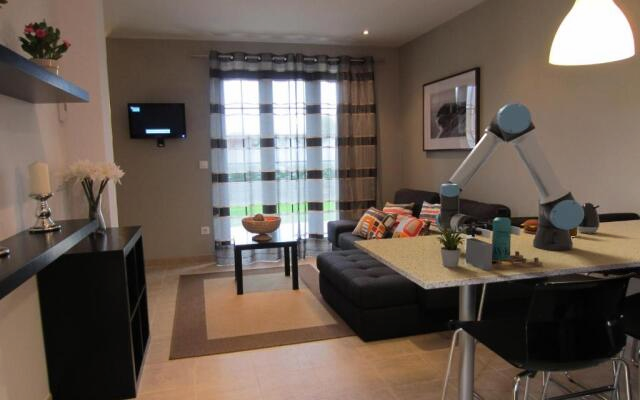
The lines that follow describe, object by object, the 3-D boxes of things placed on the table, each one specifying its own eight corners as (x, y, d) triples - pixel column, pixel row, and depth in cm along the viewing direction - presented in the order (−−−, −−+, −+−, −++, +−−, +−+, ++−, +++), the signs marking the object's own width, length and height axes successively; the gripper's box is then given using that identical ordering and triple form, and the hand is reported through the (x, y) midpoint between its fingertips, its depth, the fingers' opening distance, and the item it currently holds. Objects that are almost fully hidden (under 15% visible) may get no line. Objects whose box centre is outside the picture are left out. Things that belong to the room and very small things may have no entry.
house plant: (421, 267, 160) (421, 222, 158) (433, 259, 172) (433, 217, 170) (461, 272, 152) (462, 225, 151) (471, 263, 164) (472, 219, 162)
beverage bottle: (488, 261, 167) (488, 208, 166) (504, 261, 167) (505, 208, 167) (497, 264, 160) (497, 208, 160) (514, 263, 161) (515, 208, 161)
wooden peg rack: (520, 258, 171) (521, 250, 170) (542, 266, 159) (542, 258, 159) (473, 261, 167) (473, 253, 167) (491, 269, 155) (491, 261, 155)
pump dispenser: (591, 235, 216) (592, 204, 214) (570, 232, 225) (572, 202, 223) (603, 233, 220) (605, 202, 219) (583, 230, 230) (584, 201, 228)
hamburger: (548, 233, 222) (548, 220, 221) (532, 235, 219) (533, 221, 218) (534, 230, 231) (534, 218, 230) (518, 232, 228) (519, 219, 227)
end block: (473, 261, 167) (473, 238, 166) (491, 269, 155) (492, 244, 154) (465, 262, 166) (466, 238, 165) (483, 270, 155) (484, 244, 154)
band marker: (491, 256, 168) (491, 254, 168) (511, 264, 156) (511, 262, 156) (484, 257, 168) (484, 255, 168) (503, 264, 156) (503, 263, 156)
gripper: (489, 231, 183) (530, 240, 163) (438, 236, 173) (476, 246, 154) (489, 213, 182) (531, 220, 162) (438, 217, 173) (476, 225, 153)
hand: (504, 233), depth 158 cm, fingers open, 13 cm apart
